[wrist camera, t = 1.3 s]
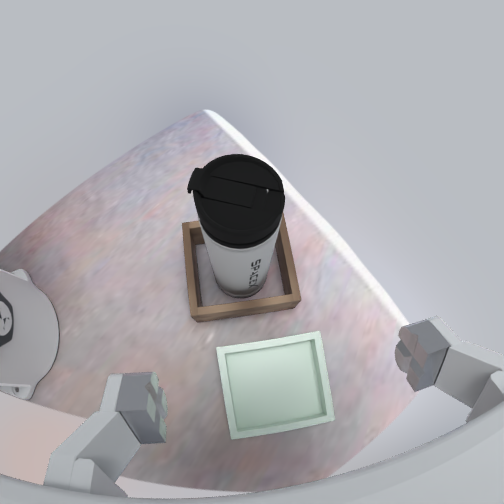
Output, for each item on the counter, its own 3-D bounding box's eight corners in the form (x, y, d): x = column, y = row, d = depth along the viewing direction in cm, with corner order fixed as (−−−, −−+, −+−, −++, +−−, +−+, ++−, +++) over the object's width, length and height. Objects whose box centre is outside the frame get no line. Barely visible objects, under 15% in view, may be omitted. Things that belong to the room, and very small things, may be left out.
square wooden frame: (197, 322, 37) (190, 315, 32) (188, 239, 40) (182, 223, 36) (293, 308, 38) (301, 299, 33) (278, 227, 41) (282, 209, 37)
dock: (231, 434, 32) (231, 439, 30) (217, 348, 36) (216, 347, 34) (329, 416, 33) (335, 420, 31) (315, 332, 37) (319, 330, 34)
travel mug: (219, 244, 40) (202, 141, 22) (270, 255, 40) (294, 158, 21) (206, 291, 38) (173, 218, 19) (260, 303, 38) (279, 240, 19)
